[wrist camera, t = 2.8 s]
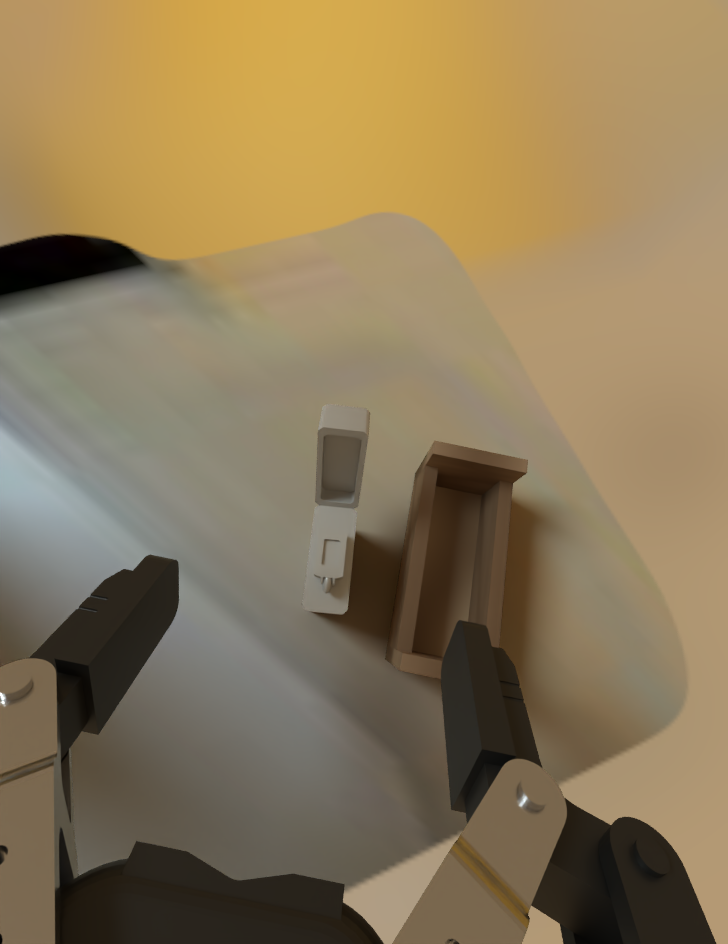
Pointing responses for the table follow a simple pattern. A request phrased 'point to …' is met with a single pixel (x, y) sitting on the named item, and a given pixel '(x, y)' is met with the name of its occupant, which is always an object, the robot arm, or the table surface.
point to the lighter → (335, 507)
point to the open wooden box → (452, 553)
